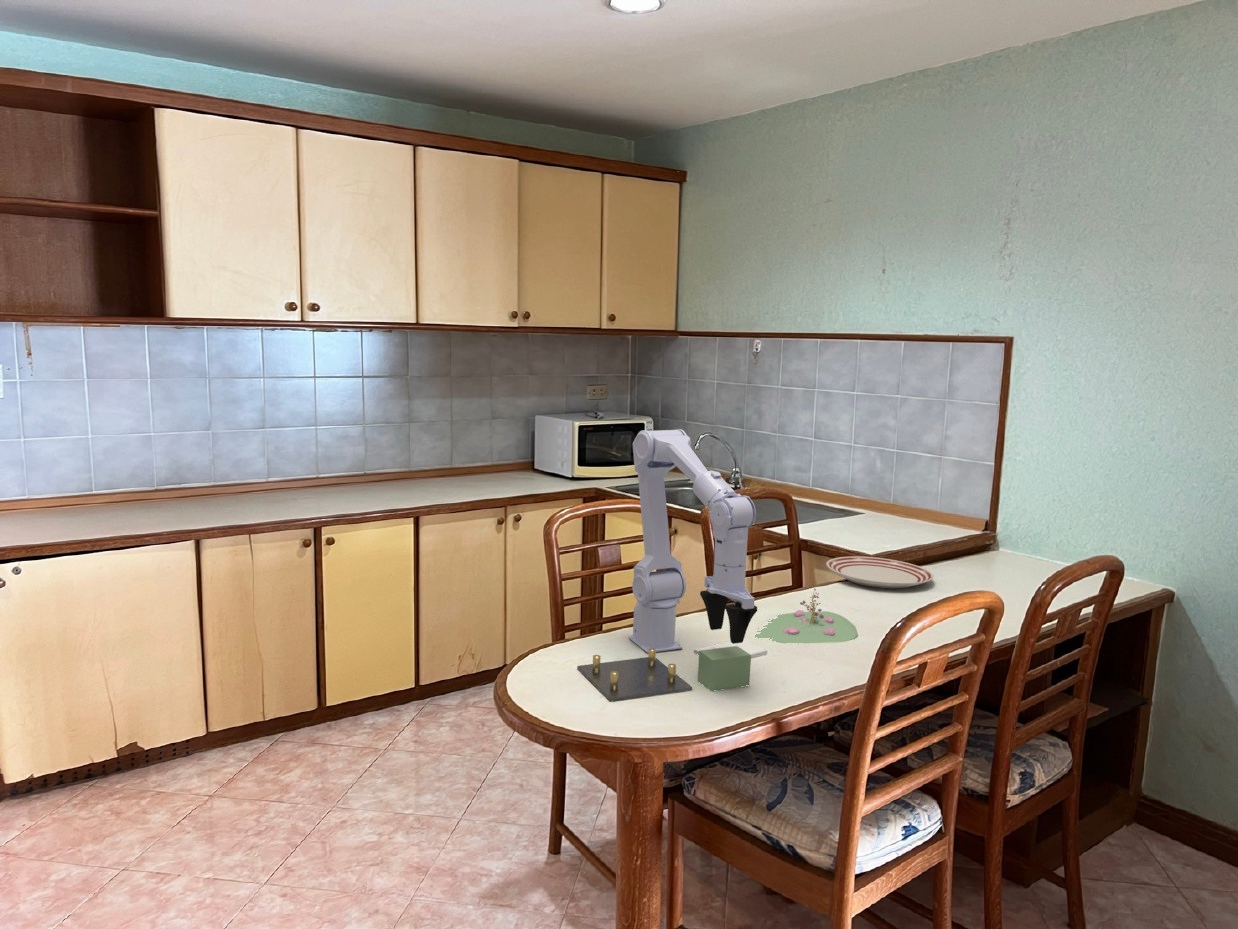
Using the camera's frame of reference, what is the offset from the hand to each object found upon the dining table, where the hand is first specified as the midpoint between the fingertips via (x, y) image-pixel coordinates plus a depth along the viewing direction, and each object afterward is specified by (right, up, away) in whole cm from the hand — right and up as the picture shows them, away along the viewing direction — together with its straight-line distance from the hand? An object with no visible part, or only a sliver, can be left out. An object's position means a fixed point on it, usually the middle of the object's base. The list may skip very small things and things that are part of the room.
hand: (726, 635), depth 167 cm
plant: (+21, -6, +33) cm, 40 cm away
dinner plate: (+49, 0, +76) cm, 91 cm away
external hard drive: (+3, -8, +17) cm, 19 cm away
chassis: (-17, -8, +2) cm, 19 cm away
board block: (0, -9, +1) cm, 9 cm away
